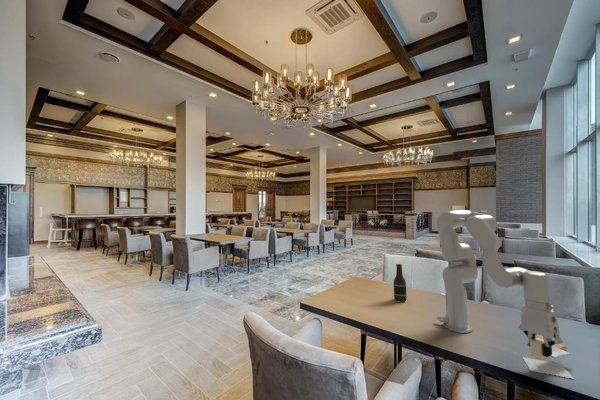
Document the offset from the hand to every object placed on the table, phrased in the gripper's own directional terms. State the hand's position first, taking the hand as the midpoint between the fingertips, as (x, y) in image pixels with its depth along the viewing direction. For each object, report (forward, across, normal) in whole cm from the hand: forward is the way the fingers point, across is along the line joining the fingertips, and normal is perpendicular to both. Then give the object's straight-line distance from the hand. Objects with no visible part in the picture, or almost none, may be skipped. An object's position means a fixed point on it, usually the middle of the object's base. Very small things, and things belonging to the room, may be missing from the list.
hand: (540, 352), depth 97 cm
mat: (+6, 0, -2) cm, 6 cm away
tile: (+5, +9, -15) cm, 18 cm away
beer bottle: (+4, +77, +2) cm, 77 cm away
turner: (+2, 0, -5) cm, 5 cm away
